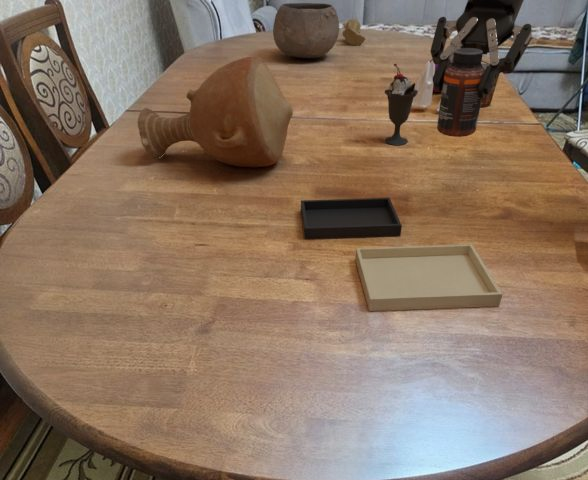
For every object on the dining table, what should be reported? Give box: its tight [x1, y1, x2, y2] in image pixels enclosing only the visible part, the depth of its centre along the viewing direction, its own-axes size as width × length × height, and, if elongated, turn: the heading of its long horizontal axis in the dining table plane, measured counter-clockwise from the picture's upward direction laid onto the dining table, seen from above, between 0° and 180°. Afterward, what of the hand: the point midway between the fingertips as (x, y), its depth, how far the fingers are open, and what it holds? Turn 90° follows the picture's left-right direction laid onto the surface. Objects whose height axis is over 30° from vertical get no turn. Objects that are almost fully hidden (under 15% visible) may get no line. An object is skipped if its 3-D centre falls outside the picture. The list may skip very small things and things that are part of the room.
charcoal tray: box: [300, 197, 403, 240], centre depth 88 cm, size 15×10×2 cm, turn 93°
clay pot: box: [272, 2, 340, 59], centre depth 173 cm, size 21×21×15 cm
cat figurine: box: [342, 18, 366, 46], centre depth 193 cm, size 8×7×12 cm
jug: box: [137, 56, 294, 168], centre depth 104 cm, size 20×19×30 cm
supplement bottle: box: [436, 48, 485, 138], centre depth 81 cm, size 6×6×11 cm
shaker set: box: [411, 60, 441, 112], centre depth 130 cm, size 12×4×11 cm, turn 77°
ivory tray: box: [354, 243, 503, 312], centre depth 75 cm, size 17×13×2 cm
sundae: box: [384, 63, 418, 146], centre depth 113 cm, size 7×7×15 cm
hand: (458, 91), depth 80 cm, fingers closed on supplement bottle, 6 cm apart
